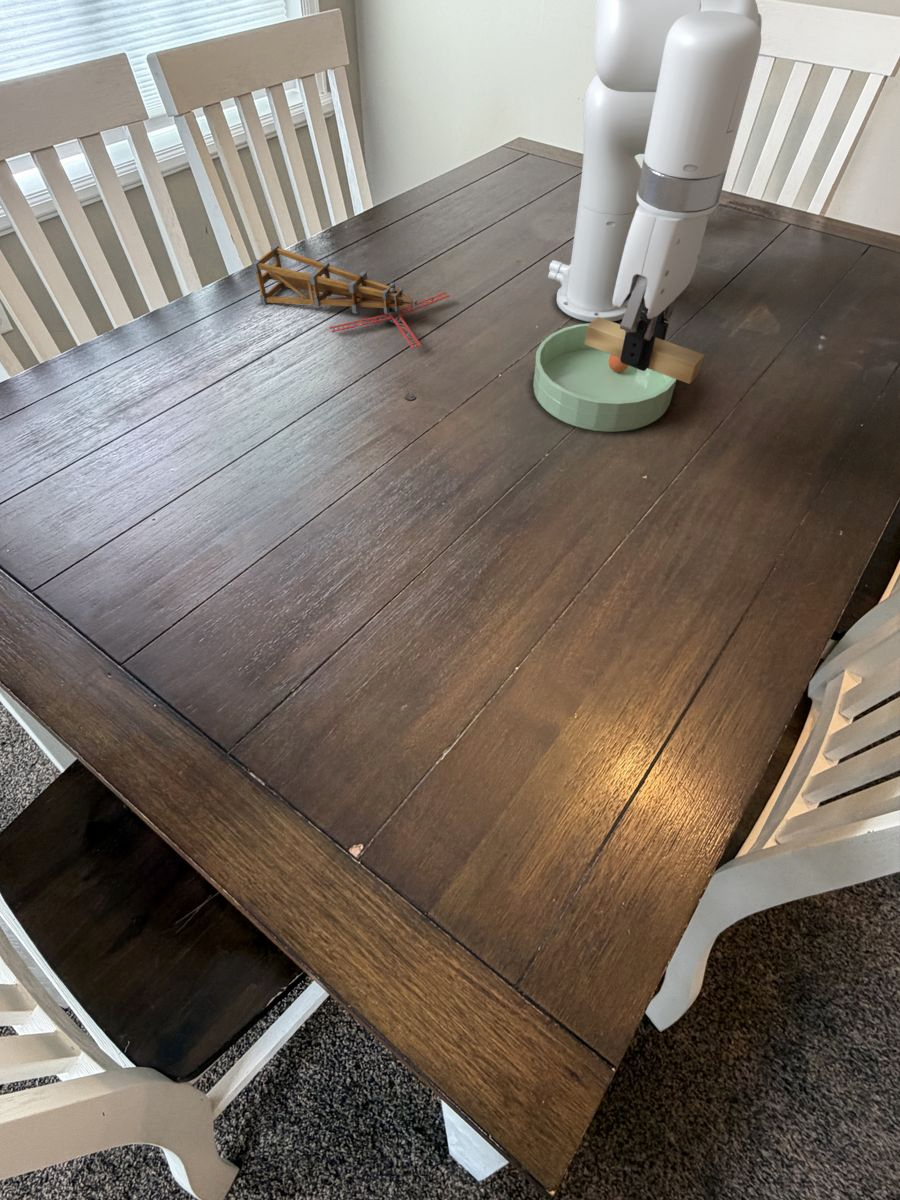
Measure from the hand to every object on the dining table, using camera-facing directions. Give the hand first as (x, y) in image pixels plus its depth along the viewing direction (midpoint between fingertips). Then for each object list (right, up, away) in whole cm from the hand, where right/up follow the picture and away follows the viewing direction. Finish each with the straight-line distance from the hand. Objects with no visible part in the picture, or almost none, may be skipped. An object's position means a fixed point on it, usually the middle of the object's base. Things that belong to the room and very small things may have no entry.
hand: (640, 357), depth 82 cm
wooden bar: (0, 0, 0) cm, 0 cm away
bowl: (0, +3, +21) cm, 21 cm away
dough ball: (+3, +7, +22) cm, 23 cm away
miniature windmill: (-37, +18, +34) cm, 54 cm away
